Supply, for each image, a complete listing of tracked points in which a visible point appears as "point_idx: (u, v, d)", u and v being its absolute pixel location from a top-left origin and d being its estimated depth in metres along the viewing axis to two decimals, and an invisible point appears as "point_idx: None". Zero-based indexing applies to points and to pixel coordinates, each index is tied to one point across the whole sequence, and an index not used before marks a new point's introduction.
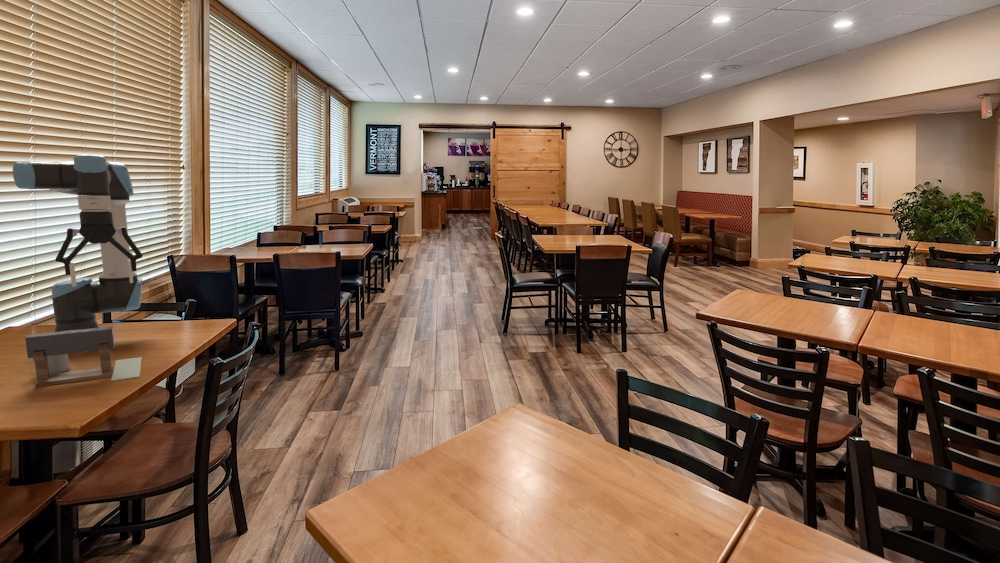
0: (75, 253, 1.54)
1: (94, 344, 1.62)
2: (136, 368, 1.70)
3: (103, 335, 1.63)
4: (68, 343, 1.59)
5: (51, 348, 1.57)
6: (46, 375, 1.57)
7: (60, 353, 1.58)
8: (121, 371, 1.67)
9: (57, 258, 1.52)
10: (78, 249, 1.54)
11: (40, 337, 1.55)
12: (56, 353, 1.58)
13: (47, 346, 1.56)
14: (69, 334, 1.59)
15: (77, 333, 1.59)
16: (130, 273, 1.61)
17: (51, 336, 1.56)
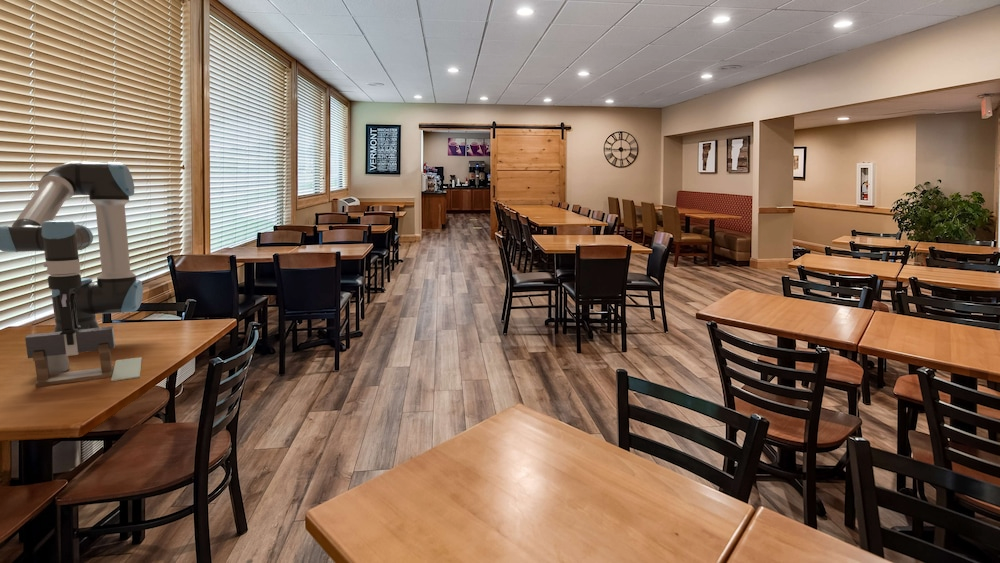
0: None
1: (95, 344, 1.62)
2: (136, 368, 1.70)
3: (103, 335, 1.63)
4: None
5: (51, 348, 1.57)
6: (46, 375, 1.57)
7: (60, 353, 1.58)
8: (121, 371, 1.67)
9: None
10: None
11: (40, 337, 1.55)
12: (56, 353, 1.58)
13: (47, 346, 1.56)
14: None
15: (77, 333, 1.60)
16: None
17: (51, 336, 1.56)
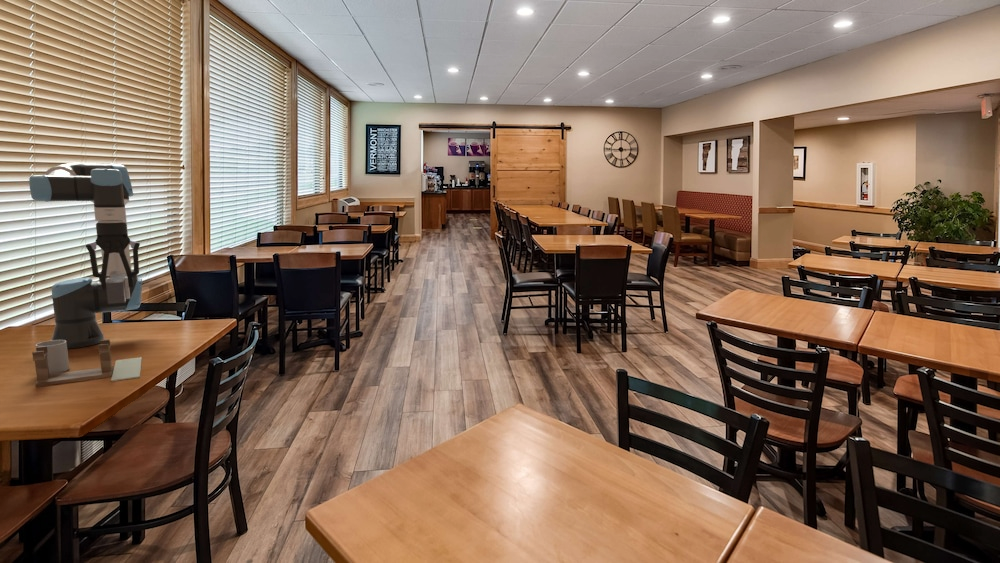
0: (105, 266, 1.63)
1: None
2: (136, 368, 1.70)
3: None
4: (125, 287, 1.67)
5: (125, 292, 1.64)
6: (46, 375, 1.57)
7: (126, 297, 1.65)
8: (121, 371, 1.67)
9: (94, 274, 1.62)
10: (105, 262, 1.63)
11: (123, 281, 1.61)
12: None
13: None
14: None
15: None
16: (127, 289, 1.66)
17: (124, 280, 1.63)
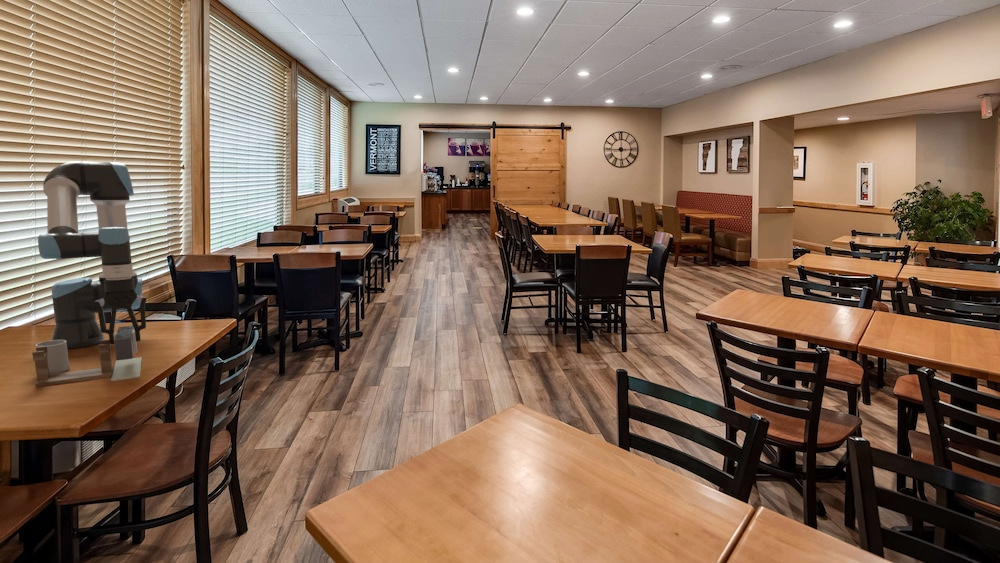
0: (113, 322, 1.66)
1: None
2: (136, 368, 1.70)
3: None
4: None
5: None
6: (46, 375, 1.57)
7: (133, 351, 1.68)
8: (121, 371, 1.67)
9: (102, 330, 1.65)
10: (113, 318, 1.66)
11: (131, 337, 1.64)
12: (133, 351, 1.67)
13: (132, 345, 1.66)
14: None
15: None
16: (134, 343, 1.69)
17: (131, 336, 1.66)
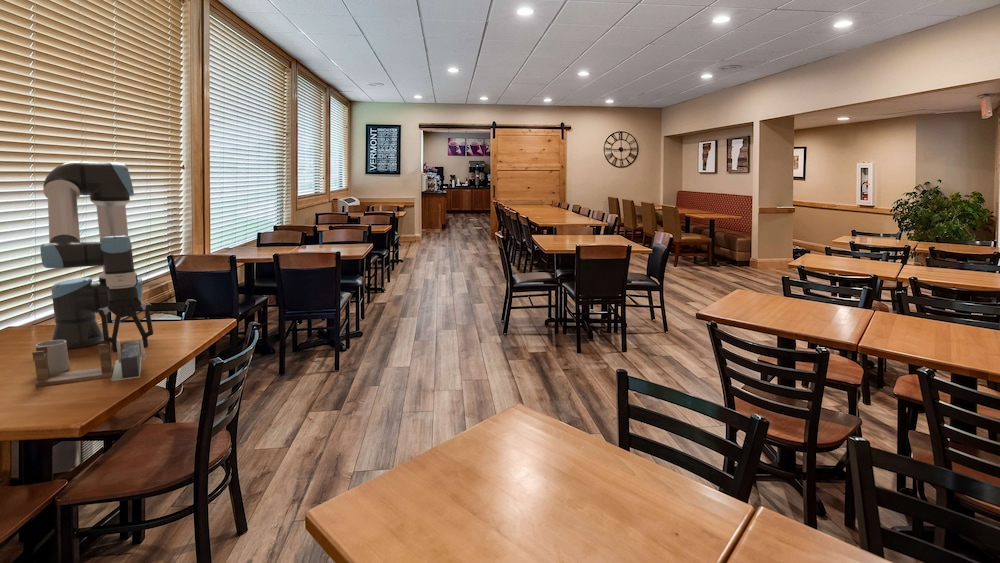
0: (116, 330, 1.66)
1: (139, 356, 1.76)
2: None
3: None
4: (138, 358, 1.70)
5: (138, 364, 1.67)
6: (46, 375, 1.57)
7: (139, 368, 1.69)
8: (121, 371, 1.67)
9: (104, 338, 1.65)
10: (116, 326, 1.66)
11: (137, 355, 1.65)
12: None
13: (138, 362, 1.67)
14: (137, 349, 1.70)
15: (137, 348, 1.72)
16: (142, 350, 1.70)
17: (137, 353, 1.67)
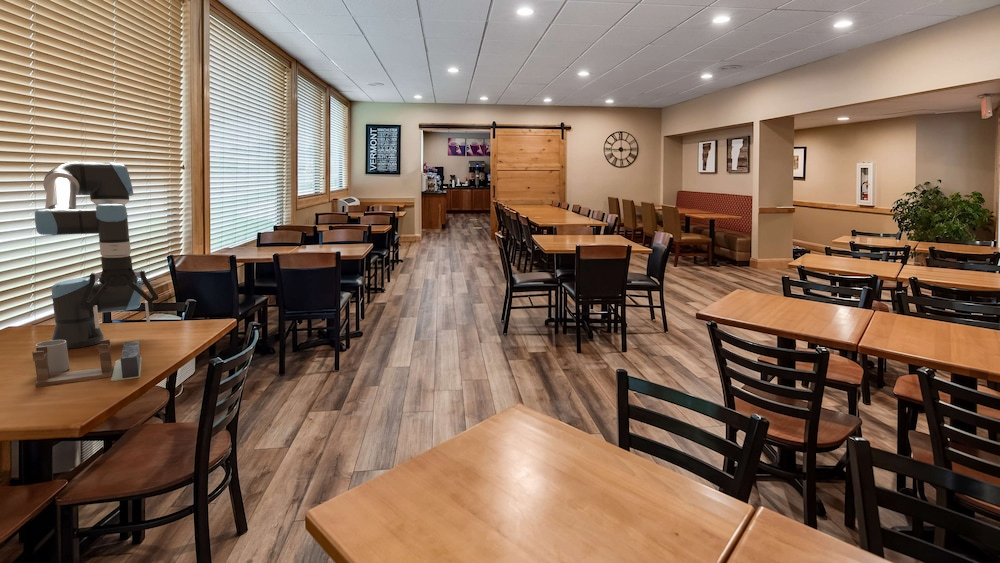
0: (98, 297, 1.63)
1: (139, 356, 1.76)
2: None
3: None
4: (138, 358, 1.70)
5: (138, 364, 1.67)
6: (46, 375, 1.57)
7: (139, 368, 1.69)
8: (121, 371, 1.67)
9: (82, 302, 1.61)
10: (101, 293, 1.64)
11: (137, 355, 1.65)
12: None
13: (138, 362, 1.67)
14: (137, 349, 1.70)
15: (137, 348, 1.72)
16: (147, 314, 1.71)
17: (137, 353, 1.67)
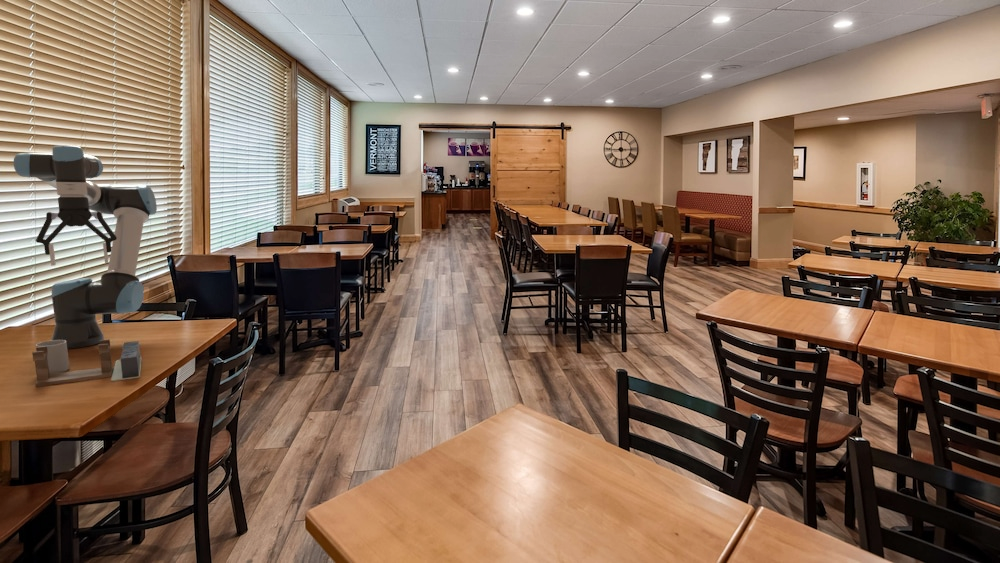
0: (54, 235, 1.69)
1: (139, 356, 1.76)
2: None
3: None
4: (138, 358, 1.70)
5: (138, 364, 1.67)
6: (46, 375, 1.57)
7: (139, 368, 1.69)
8: (121, 371, 1.67)
9: (37, 239, 1.67)
10: (57, 231, 1.69)
11: (137, 355, 1.65)
12: None
13: (138, 362, 1.67)
14: (137, 349, 1.70)
15: (137, 348, 1.72)
16: (105, 254, 1.76)
17: (137, 353, 1.67)
